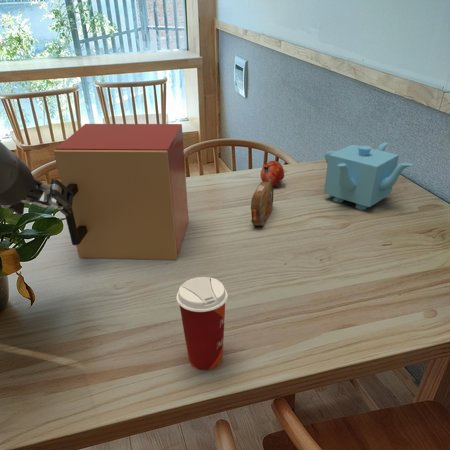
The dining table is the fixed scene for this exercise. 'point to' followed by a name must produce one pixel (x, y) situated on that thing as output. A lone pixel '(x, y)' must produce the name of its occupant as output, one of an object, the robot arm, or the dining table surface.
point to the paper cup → (203, 320)
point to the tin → (262, 203)
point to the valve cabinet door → (119, 203)
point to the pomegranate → (272, 173)
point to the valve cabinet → (142, 140)
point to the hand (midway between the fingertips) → (45, 209)
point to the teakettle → (361, 174)
